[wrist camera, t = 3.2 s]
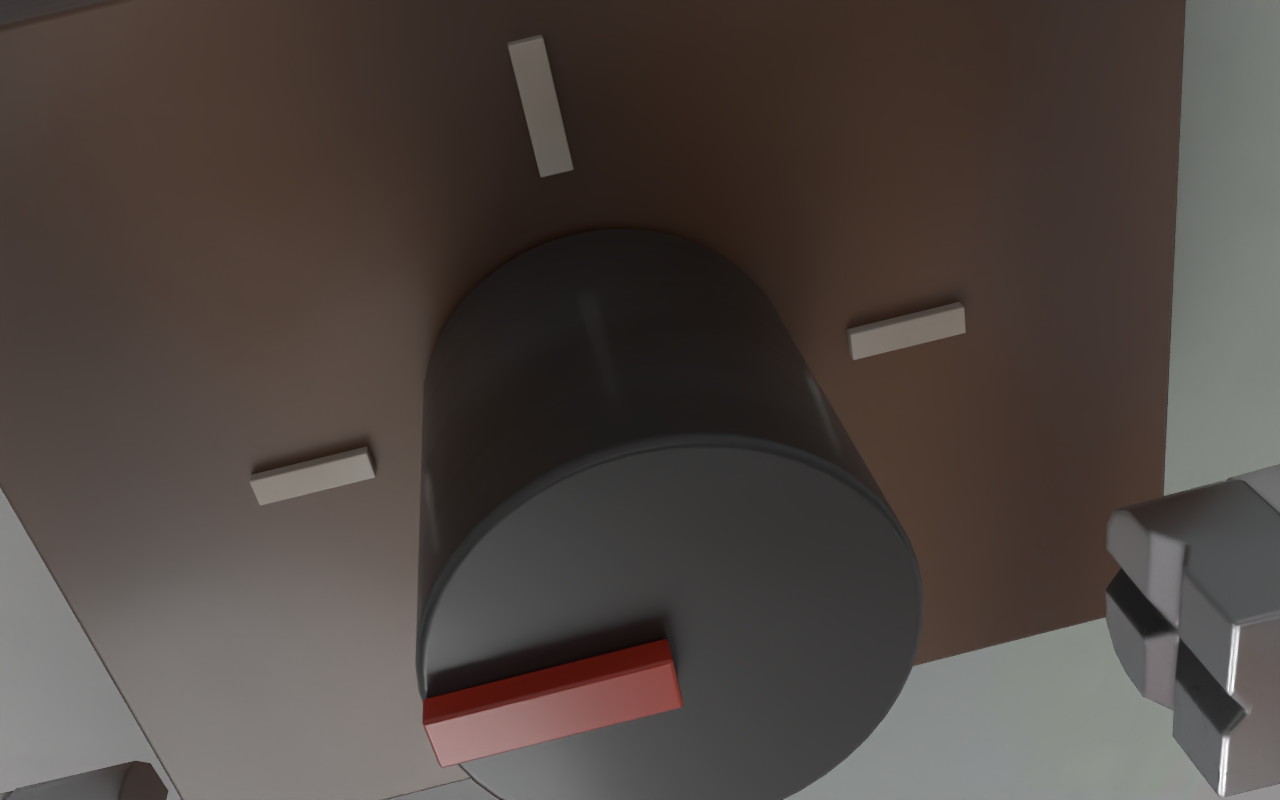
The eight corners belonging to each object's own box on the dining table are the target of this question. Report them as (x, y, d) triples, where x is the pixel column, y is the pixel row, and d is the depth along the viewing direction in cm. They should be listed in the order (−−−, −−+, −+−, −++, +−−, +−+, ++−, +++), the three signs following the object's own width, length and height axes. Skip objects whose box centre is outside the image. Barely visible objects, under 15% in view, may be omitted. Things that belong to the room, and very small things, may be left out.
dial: (766, 185, 13) (922, 395, 9) (812, 505, 15) (953, 795, 11) (372, 278, 13) (339, 539, 9) (478, 588, 15) (492, 913, 11)
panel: (1058, -253, 14) (1209, -252, 11) (1065, 490, 19) (1166, 612, 17) (-109, 15, 13) (-248, 85, 11) (239, 696, 19) (204, 856, 16)
